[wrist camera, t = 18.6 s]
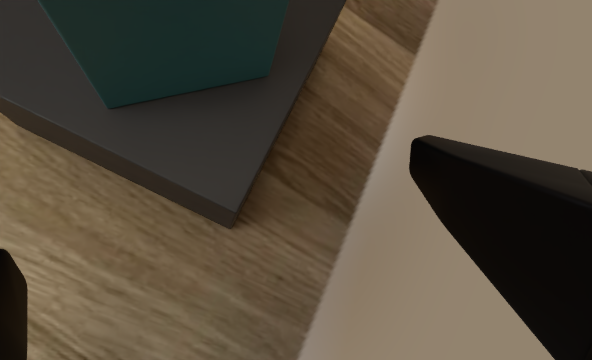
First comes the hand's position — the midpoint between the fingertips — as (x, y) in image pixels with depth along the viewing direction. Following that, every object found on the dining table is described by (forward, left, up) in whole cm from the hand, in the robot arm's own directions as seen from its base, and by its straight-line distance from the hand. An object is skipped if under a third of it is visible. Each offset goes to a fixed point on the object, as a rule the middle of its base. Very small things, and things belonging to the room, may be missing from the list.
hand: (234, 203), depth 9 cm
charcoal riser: (+6, -3, -9) cm, 12 cm away
